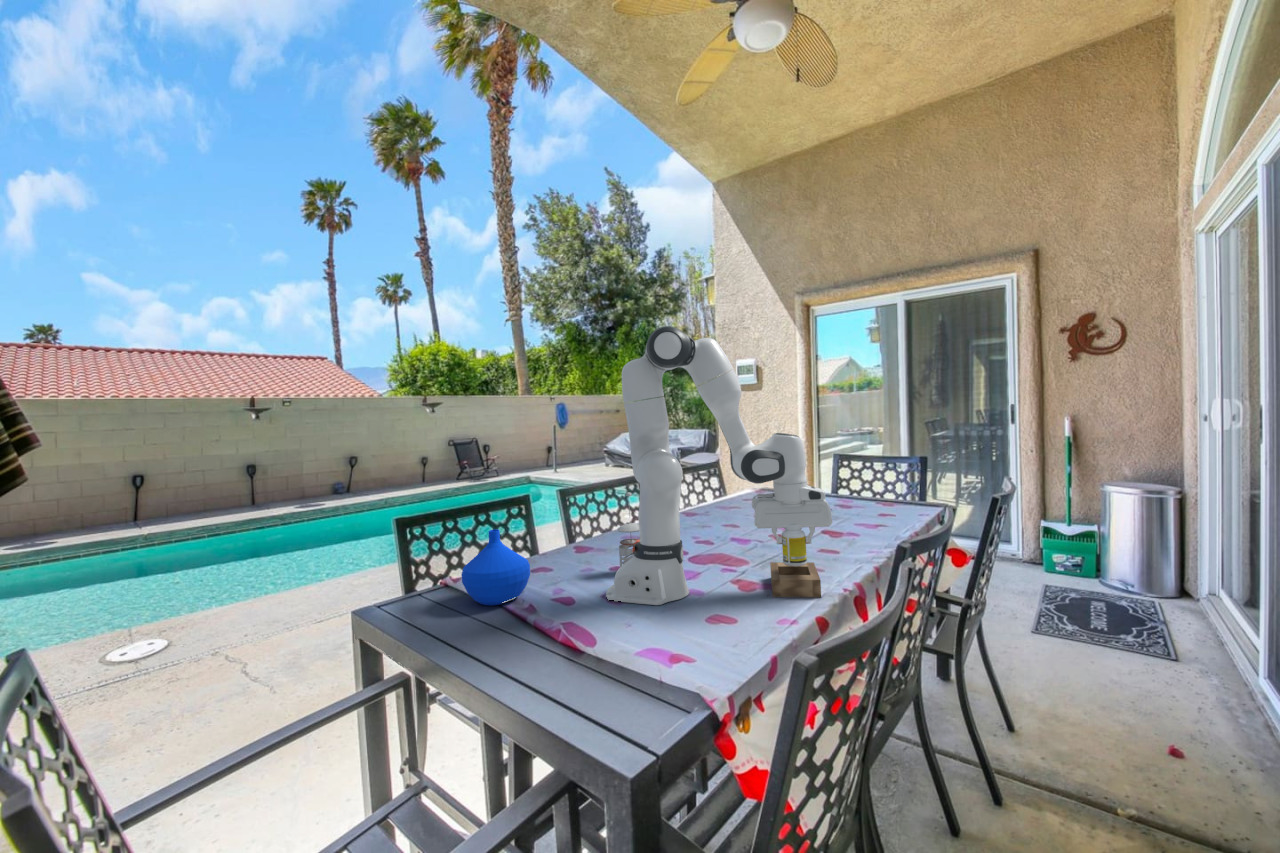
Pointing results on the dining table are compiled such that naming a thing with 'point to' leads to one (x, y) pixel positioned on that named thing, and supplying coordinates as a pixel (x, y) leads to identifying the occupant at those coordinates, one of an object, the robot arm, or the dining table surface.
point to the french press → (627, 542)
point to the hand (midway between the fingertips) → (793, 543)
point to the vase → (495, 573)
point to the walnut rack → (795, 580)
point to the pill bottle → (794, 546)
